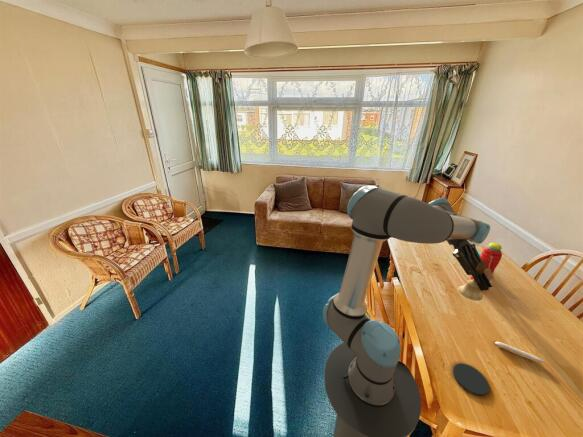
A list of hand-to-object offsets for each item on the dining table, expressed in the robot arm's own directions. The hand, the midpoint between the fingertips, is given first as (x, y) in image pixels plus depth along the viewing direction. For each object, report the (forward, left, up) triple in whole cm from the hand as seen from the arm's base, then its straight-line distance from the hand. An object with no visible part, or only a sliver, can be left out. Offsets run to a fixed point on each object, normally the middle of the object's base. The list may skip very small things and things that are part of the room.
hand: (486, 288), depth 88 cm
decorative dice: (+40, +28, -16) cm, 52 cm away
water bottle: (+27, +17, -21) cm, 39 cm away
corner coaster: (-20, -17, -21) cm, 33 cm away
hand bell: (-1, +4, -6) cm, 7 cm away
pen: (+7, -15, -21) cm, 26 cm away
